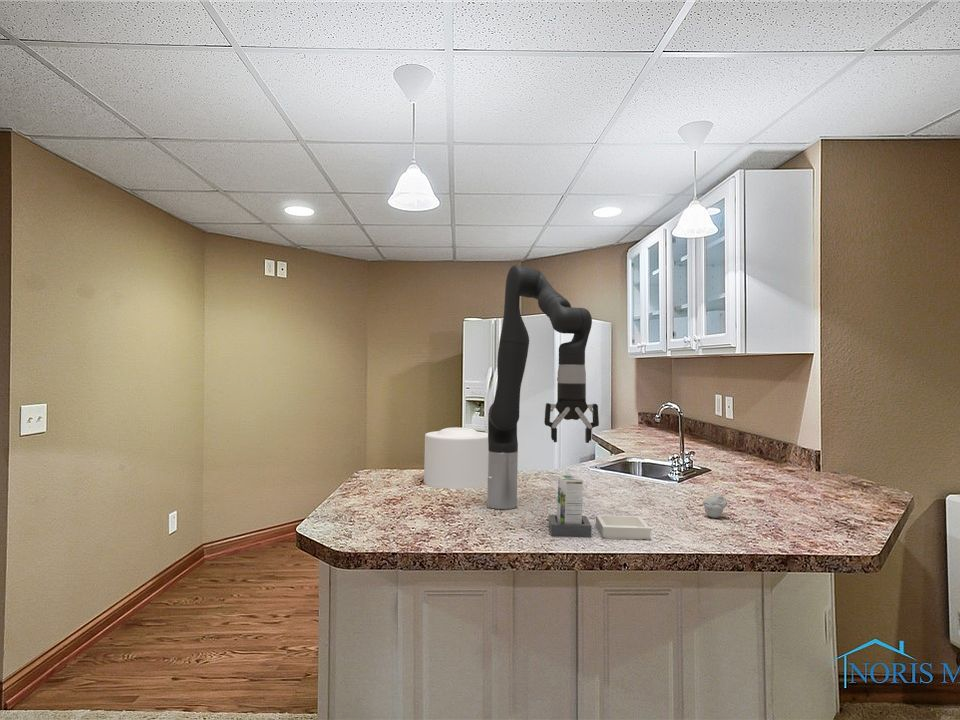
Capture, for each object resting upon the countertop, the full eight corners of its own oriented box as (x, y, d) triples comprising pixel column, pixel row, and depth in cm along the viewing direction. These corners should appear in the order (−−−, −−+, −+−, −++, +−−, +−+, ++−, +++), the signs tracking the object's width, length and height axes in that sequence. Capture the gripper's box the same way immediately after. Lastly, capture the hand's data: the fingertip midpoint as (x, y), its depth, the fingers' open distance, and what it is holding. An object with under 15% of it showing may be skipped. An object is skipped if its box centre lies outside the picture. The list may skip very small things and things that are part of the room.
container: (430, 474, 232) (431, 424, 232) (493, 477, 229) (493, 426, 230) (417, 487, 207) (418, 431, 207) (487, 490, 204) (488, 433, 205)
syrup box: (555, 528, 157) (556, 474, 157) (577, 528, 158) (578, 474, 158) (560, 534, 152) (561, 478, 152) (582, 534, 152) (583, 478, 152)
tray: (603, 538, 148) (603, 527, 148) (595, 525, 160) (595, 515, 160) (650, 540, 148) (650, 528, 148) (639, 527, 160) (639, 516, 160)
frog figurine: (728, 521, 168) (729, 497, 168) (702, 519, 170) (703, 495, 170) (726, 516, 174) (726, 492, 174) (701, 514, 176) (701, 491, 176)
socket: (551, 536, 150) (551, 524, 150) (548, 525, 160) (548, 514, 160) (591, 537, 149) (591, 525, 149) (585, 526, 160) (585, 515, 160)
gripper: (546, 382, 152) (545, 444, 152) (600, 382, 151) (600, 444, 151) (543, 381, 159) (543, 440, 159) (596, 381, 159) (595, 440, 159)
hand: (571, 442), depth 155 cm, fingers open, 8 cm apart
